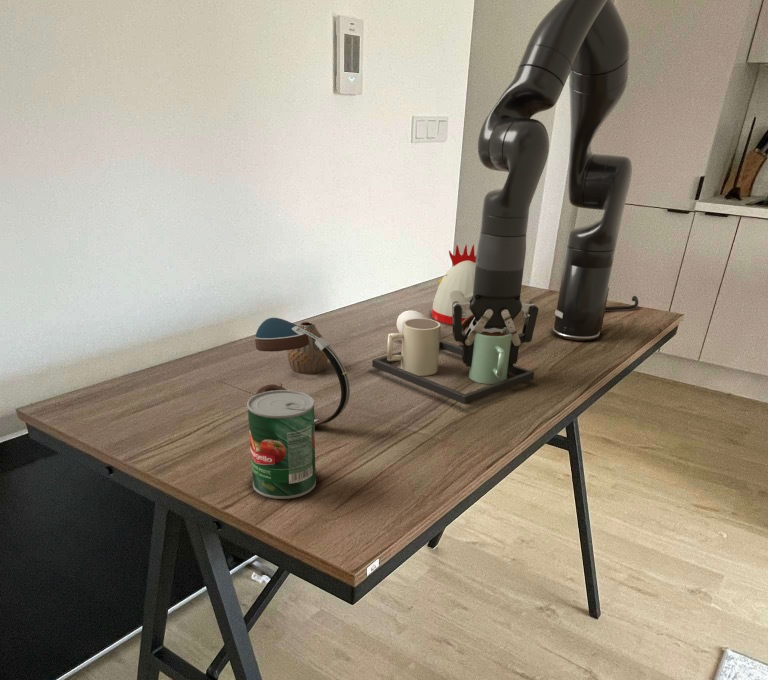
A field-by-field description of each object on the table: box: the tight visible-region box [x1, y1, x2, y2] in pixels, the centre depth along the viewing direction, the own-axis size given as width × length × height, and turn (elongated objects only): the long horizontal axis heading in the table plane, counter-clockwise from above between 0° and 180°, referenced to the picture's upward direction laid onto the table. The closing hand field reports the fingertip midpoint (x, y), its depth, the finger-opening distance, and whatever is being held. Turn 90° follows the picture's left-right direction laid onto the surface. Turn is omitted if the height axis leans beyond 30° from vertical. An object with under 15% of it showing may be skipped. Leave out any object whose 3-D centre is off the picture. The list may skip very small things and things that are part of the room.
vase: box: [286, 321, 329, 375], centre depth 120 cm, size 7×7×9 cm
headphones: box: [218, 317, 351, 427], centre depth 101 cm, size 6×15×22 cm
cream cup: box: [386, 318, 442, 377], centre depth 120 cm, size 9×6×8 cm
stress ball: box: [396, 309, 428, 333], centre depth 139 cm, size 8×8×7 cm
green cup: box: [468, 326, 512, 385], centre depth 117 cm, size 9×6×8 cm
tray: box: [371, 339, 535, 405], centre depth 121 cm, size 18×22×2 cm
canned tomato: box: [246, 389, 317, 500], centre depth 86 cm, size 8×8×11 cm
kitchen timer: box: [431, 243, 477, 327], centre depth 151 cm, size 14×14×15 cm
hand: (488, 365), depth 119 cm, fingers closed on green cup, 6 cm apart
